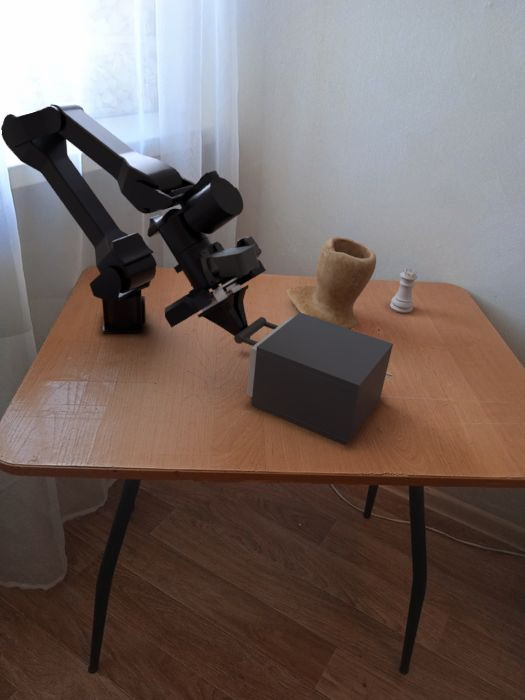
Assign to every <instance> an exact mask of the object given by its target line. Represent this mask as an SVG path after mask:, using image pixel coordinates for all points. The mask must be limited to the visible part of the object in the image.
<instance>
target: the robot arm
mask: <svg viewBox="0 0 525 700" xmlns="http://www.w3.org/2000/svg"><path fill="white" fill-rule="evenodd" d="M1 130H2V134H1V137H2V139H3V142H4V144H5V145H6V147H7V148H8V149H9V150H10V151H11V152H12V153H13V154H14V156H15V157H16V158H17V159H18V160H19V161H20V162H21V163H22V164H24V165H26V166H28V167H30V168H32V169H33V170H35V171H37V172H39V173H40V174H42V176H43V177H44V179H45V181H46V182H47V183H48V185H49V186H50V187H51V189H52V191H53V192H54V193H55V194H56V196H57V197H58V199H59V200H60V201H61V203H62V205H63V206H64V207H65V209H66V210H67V211H68V213H69V214H70V215H71V217H72V218H73V220H74V221H75V223H76V224H77V225H78V226H79V228H80V229H81V231H82V232H83V233H84V235H85V237H86V238H87V239H88V241H89V242H90V244H92V246H93V248H94V256H95V265H96V268H97V270H98V272H99V274H98V275H97V276H96V277H95V278H94V279H92V281H91V282H90V283H89V287H90V290H91V294H92V295H93V297H96V298H98V299H101V304H102V315H103V316H102V317H103V322H102V323H103V324H102V333H104V334H121V333H122V334H131V333H134V334H135V333H136V334H137V333H138V334H139V333H140V334H141V333H143V332H144V325H146V323H147V322H146V321H147V318H146V317H147V316H146V315H147V314H146V296H145V295H142V290H144V289H147V288H149V287H150V285H151V283H152V281H153V279H155V277H156V274H157V265H158V264H157V261H156V259H155V257H154V256H153V254H154V250H152V249H151V248H150V247H149V246H148V245H147V243H146V241H145V240H144V238H143V236H142V235H141V234H140V233H139V232H137V231H136V232H134V233H131V234H128V233H127V232H125V231H123V230H122V229H120V227H119V226H118V224H117V223H116V222H115V220H114V219H113V217H112V216H111V214H110V213H109V212H108V210H107V209H106V207H105V206H104V204H103V203H102V202H101V201H100V199H99V198H98V197H97V195H96V193H95V192H94V191H93V189H92V188H91V186H90V185H89V184H88V182H87V181H86V180H85V178H84V177H83V175H82V174H81V172H80V171H79V169H78V168H77V167H76V166H75V164H74V162H73V161H72V160H71V158H70V156H69V154H68V143H67V142H69V144H71V145H73V146H74V147H75V148H76V149H78V150H79V151H80V152H82V154H84V155H85V156H86V157H88V159H90V160H92V161H93V162H94V163H95V164H96V165H98V167H100V168H101V169H103V170H104V171H105V172H106V173H108V174H109V175H110V176H112V178H114V180H115V181H116V182H117V184H118V188H119V190H120V193H121V194H122V196H123V197H124V198H125V199H126V200H127V201H128V202H129V203H130V204H131V205H132V207H134V208H135V209H136V210H137V211H138V212H139V213H142V214H144V215H147V214H152V213H156V212H160V211H164V210H167V211H166V212H165V213H164V214H162V215H161V214H157V215H155V216H152V217H150V218H149V226H148V229H147V233H146V234H147V237H149V238H152V237H155V236H157V235H160V236H161V238H162V240H163V241H164V243H165V244H166V246H167V248H168V249H169V251H170V252H171V254H172V256H173V257H174V259H175V261H176V262H177V264H176V265H175V266H174V267H173V269H174V271H175V272H176V274H179V273H182V272H183V274H184V275H185V277H186V279H187V280H188V282H189V284H190V285H191V288H192V289H191V290H189V291H188V293H187V294H185V295H183V296H182V297H180V298H179V299H177V300H175V301H174V302H172V303H171V304H169V305H167V306H166V307H165V308H164V318H165V320H166V322H167V323H168V324H169V326H170V328H174V327H175V326H177V325H178V324H180V323H183V322H184V321H185V320H187V319H189V318H191V317H192V316H194V315H196V314H197V313H198V314H197V317H198V318H199V319H200V318H204V319H205V320H208V321H209V322H211V323H213V324H215V325H217V326H218V327H220V328H222V329H223V330H224V331H226V332H228V333H229V334H231V335H232V336H233V337H235V335H237V334H238V333H239V332H241V331H242V330H244V329H245V328H246V327H248V326H249V323H248V320H247V315H246V309H245V303H244V300H245V296H246V292H247V291H248V289H249V284H247V285H245V286H243V285H244V284H246V283H247V282H249V281H251V280H252V279H254V278H256V277H258V276H259V275H262V274H263V273H264V272H266V271H267V270H266V268H265V266H264V265H263V263H262V262H261V260H260V259H258V258H259V257H260V256H261V254H262V249H261V248H260V247H259V244H258V243H257V242H256V240H255V238H253V236H252V235H249V236H243V237H242V238H240V239H237V241H236V246H233V247H231V248H227V249H226V248H224V246H223V245H222V244H221V242H218V241H219V240H218V241H215V242H213V243H212V241H211V239H210V238H209V237H208V235H212V234H213V233H214V234H215V232H217V231H218V230H220V229H221V228H223V227H224V226H225V225H227V224H228V223H229V222H230V221H232V220H234V219H235V218H237V217H238V216H240V214H241V213H243V211H244V200H243V197H242V194H241V192H240V190H239V189H238V187H235V186H234V185H233V184H232V183H231V182H230V181H229V180H228V179H226V178H223V177H221V176H220V174H219V173H218V171H217V170H216V169H213V170H210V171H206V172H205V173H204V174H202V176H200V178H199V179H198V181H197V182H193V181H192V180H190V179H187V178H186V177H184V176H182V175H181V173H180V171H178V170H177V169H176V168H175V167H173V166H171V165H170V164H167V163H166V162H164V161H162V160H160V159H158V158H155V157H152V156H149V155H148V156H147V155H145V154H141V153H139V152H137V151H136V150H134V149H133V148H132V147H130V146H129V145H128V144H126V143H125V142H124V141H123V140H121V139H120V138H119V137H117V136H116V135H115V134H113V133H112V132H111V131H110V130H109V129H107V128H106V127H105V126H103V125H102V124H101V123H99V122H98V121H97V120H96V119H94V118H93V117H92V116H91V115H89V114H88V113H87V112H86V111H85V110H84V108H83V107H82V106H81V105H80V104H78V103H76V102H73V101H69V102H59V103H50V105H48V106H45V107H44V108H41V109H39V110H34V111H23V112H14V113H9V114H6V116H5V117H4V118H3V121H2V124H1V128H0V131H1ZM176 206H180V208H175V207H176ZM173 207H174V208H173ZM168 209H169V210H168ZM242 286H243V287H242ZM201 311H202V312H201ZM199 312H200V313H199ZM249 339H251V336H250V337H249Z"/></svg>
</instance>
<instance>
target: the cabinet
mask: <svg viewBox="0 0 525 700" xmlns="http://www.w3.org/2000/svg"><path fill="white" fill-rule="evenodd" d="M292 317H293V318H292V319H291V320H290V321H288V322H287V323H286V324H285V325H283V326H282V327H281V328H280V329H278V330H277V331H276V332H275V333H273V334H272V335H271V336H270V337H268V338H267V339H266V340H265V341H263V342H262V343H261V344H260V345H258V346H257V350H256V361H255V372H254V382H253V393H252V397H251V404H250V405H251V406H253V407H255V408H257V409H258V410H262V411H264V412H265V413H268V414H271V415H274V416H276V417H278V418H281V419H282V420H285V421H288V422H290V423H293V424H295V425H296V426H299V427H302V428H304V429H307V430H309V431H311V432H313V433H316V434H318V435H320V436H322V437H325V438H327V439H329V440H332V441H335V442H337V443H339V444H342V445H344V446H348V445H349V443H350V442H351V440H352V439H353V438H354V436H355V435H356V433H357V432H358V430H359V429H360V428H361V426H362V425H363V424H364V422H365V421H366V419H367V418H368V417H369V416H370V414H371V412H372V411H373V410H374V408H375V407H376V405H377V404H378V403H379V401H380V400H381V397H382V392H383V388H384V385H385V384H384V383H385V379H386V376H387V372H388V368H389V363H390V360H391V355H392V351H393V347H394V343H393V342H389V341H388V340H387V341H386V340H384V339H381V338H377V337H375V336H371V335H368V334H366V333H364V332H360V331H357V330H355V329H348V328H345V327H342V326H339V325H336V324H333V323H330V322H327V321H325V320H322V319H319V318H316V317H313V316H310V315H307V314H304V313H301V312H298V313H297V314H296V315H294V316H292Z"/></svg>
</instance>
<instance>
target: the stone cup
mask: <svg viewBox="0 0 525 700" xmlns="http://www.w3.org/2000/svg"><path fill="white" fill-rule="evenodd" d="M376 265H377V255H376V254H375V252H374V251H373V250H372V249H371V248H369V247H368V246H366V245H365V244H363V243H361V242H358V241H356V240H354V239H351V238H347V237H343V236H333V237H331V238H328V239H327V240H326V241H325V242H324V243H323V244H322V247H321V250H320V252H319V256H318V260H317V265H316V285H313V284H299V285H295V286H291V287H290V288H287V290H286V294H287V296H288V298H289V299H290V301H291V302H292V304H293V306H295V308H296V309H297V311H298V313H300V312H301V313H304V314H307V315H310V316H313V317H316V318H319V319H322V320H325V321H327V322H330V323H333V324H336V325H339V326H342V327H345V328H348V329H351V330H355V329H356V328H357V327H358V326H359V321H358V319H357V317H356V315H355V312H354V311H353V310H354V305H355V303H356V302H357V300H358V298H359V296H361V294H362V292H363V291H364V289H365V288H366V287H367V285H368V284H369V282H370V281H371V278H372V277H373V274H374V272H375V271H376Z"/></svg>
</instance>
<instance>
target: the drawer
mask: <svg viewBox="0 0 525 700" xmlns="http://www.w3.org/2000/svg"><path fill="white" fill-rule="evenodd" d="M293 317H294V316H289V317H288V318H287V319H285V320H284V321H283V322H282V323H280V324H279V325H277V324H275V323H272V322H269V321H267V319H266V318H265V317H264V316H260V317H259V318H257V319H255V321H253V322H252V323H251V324H248V327H246V328H245V329H244V330H242V331H241V332H239V333H238V334H237V335H235V336H233V341H234V342H235V343H236V344H239V345H241V344H243V343H244V344H247V345H249V346H251V347H250V352H249V353H250V355H249V367H248V376H247V377H248V378H247V388H246V389H247V390H246V395H247V396H249V397H251V398H252V393H253V382H254V372H255V361H256V350H257V346H258V345H260V344H261V343H262V342H263V341H265V340H266V339H267V338H268V337H270V336H271V335H272V334H273V333H275V332H276V331H277V330H278V329H280V328H281V327H282V326H283V325H285V324H286V323H287V322H288V321H290V320H291V319H292V318H293ZM264 327H265V328H268V329H271V330H272V331H270V332H269V333H268V334H267V335H265V336H264V337H262V339H260V340H259V341H257V340H254V339H251V337H252V336H253V335H254V334H256V333H257V332H259V331H260V330H261V329H262V328H264ZM249 337H250V339H249Z"/></svg>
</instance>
